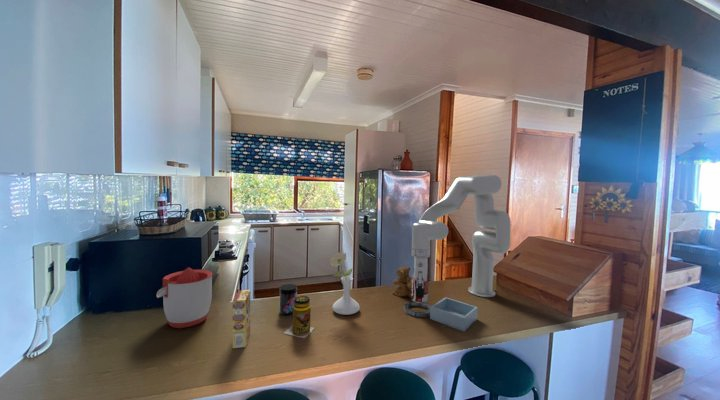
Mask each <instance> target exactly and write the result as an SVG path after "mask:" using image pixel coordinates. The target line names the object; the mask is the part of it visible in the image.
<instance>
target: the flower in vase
mask: <svg viewBox="0 0 720 400" xmlns="http://www.w3.org/2000/svg"><path fill="white" fill-rule="evenodd" d="M346 260H347V254H346V253H344V251H340V252H336V254H334V255H333V256H332V257H331V259H330V260H329V264H330V265H329V266H331V267H333V268H337V267H338V266H340V269H341V271H336V272H335V273H333V275H332V277H340V276H341V275H343V276H342V277H340V280H341V281H342V284H343V295H342V296H341V297H339V299H337V300H336V301H335V302H334V303H333V304H332V310H333V311H334V312H335V313H336V314H339V315H345V316H347V315H353V314H355V313H358V312H359V311H360V309H361V307H360V304H359V303H358V302H357V301H356V299H354V298H352V297H351V295H350V286H351V284H352V281H353V280H354V278H353V277H352V276H350V275H351V274H352V271H353V268H350V269H348V270H346V271H345V272H344V271H343V267H342V264H343V263H344V262H345V261H346Z"/></svg>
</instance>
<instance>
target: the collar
mask: <svg viewBox="0 0 720 400" xmlns="http://www.w3.org/2000/svg"><path fill="white" fill-rule="evenodd" d="M410 307H420V308H422V309H425V310H426V311H415V310H413V309H410ZM430 307H431V305H430V304H427V303H426V302H425V303H416V302H414V301H408V302H406V303H404V304H403V311H404V313H406V314H407V315H409V316H412V317H415V318H428V317H430Z"/></svg>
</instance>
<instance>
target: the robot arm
mask: <svg viewBox="0 0 720 400" xmlns="http://www.w3.org/2000/svg"><path fill="white" fill-rule="evenodd" d="M502 186H503V185H502V180H501V178H500V177H499V176H498V175H497V174H476V175H473V174H472V175H468V176H458V177H457V178H455V180H453V182H452V184H451V185H450V187H449V188H448V190H447V191H446V192H445V194H444V196H443V198H442V199H440V200H439V201H437V202H436V203H434V204H433V205H431V206H430V207H429V208H427V209H426V210H425V211H423V214H422V215H421V216H420V218H419V220H418V222H414V223H413V224H412V227H411V257H414V259H413V261H414V262H413V263H414V267H413V268H414V269H413V270H414V271H413V273H414V272H415V280H417V287H416V297H419V298H424V288H423V282H424V281H425V282H426V281H427V276H428V258H430V256H431V241H432V240H433V241H434V240H435V241H436V240H438V241H439V240H440V241H441V240H444V239H446V238H447V236H448V234H449V228H448V225H447V224H446V223H444V222H440V221H436V220H438V219H439V218H441V217H443V216H446V215H450V214H453V213H456V212H457V211H459V210H460V209H461V207H462V205H463V203H464V202H465V201H466V199H467V197H468V196H472V197H473V199H474V203H475V204H474V209H475V211H474V212H475V214H474V215H475V216H474V217H475V224H476V226H477V227H478V228H482V229H481V230H480V229H479V230H477V231H475V232H473V234H472V235H471V236H472V237H471V243H472V250H473V251H472V252H473V253H472V254H473V255H472V256H473V258H472V259H473V260H472V272H471V273H472V276H471V285H470V286H468V288H467V289H468V290H467V291H468V293H470V294H471V295H474V296H478V297H480V298H494V297H495V296H496V291H495V290H494V289H493V283H494V265H495V260H494V255H493V253H496V254H503V255H504V254H506V253H508V251H509V249H510V247H511V233H512V232H511V226H512V225H511V217H510V215H509V214H508V212H506V211H504V210H496V209H495V199H494V196H493V195H492V194H496V193H498V192H499V191H500V190H501V188H502ZM483 229H486V230H483ZM487 229H488V230H487ZM492 252H493V253H492ZM418 273H419V275H418ZM416 278H417V279H416ZM418 278H419V280H418ZM422 278H423V280H424V281H423V280H422ZM418 282H419V283H418Z"/></svg>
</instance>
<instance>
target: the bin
mask: <svg viewBox="0 0 720 400" xmlns="http://www.w3.org/2000/svg"><path fill="white" fill-rule="evenodd" d="M478 310H479V307H478V306H476V305H471V304H469V303H465V302H462V301H459V300H456V299H453V298H449V297H446V296H445V297H444V298H441V299H440V300H439V301H437V302H436V303H434V304H432V305H430V315H429V319H430V320H431V321H435V322H437V323H440V324H443V325H445V326H447V327H451V328H453V329H455V330H458V331H460V332H463V333H464V332H466V330H467V329H469V328H470V327H471V326H472V325H473V324H474V323H475V322H476V321H477V320H478Z"/></svg>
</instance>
